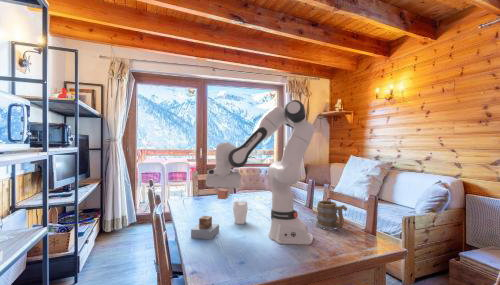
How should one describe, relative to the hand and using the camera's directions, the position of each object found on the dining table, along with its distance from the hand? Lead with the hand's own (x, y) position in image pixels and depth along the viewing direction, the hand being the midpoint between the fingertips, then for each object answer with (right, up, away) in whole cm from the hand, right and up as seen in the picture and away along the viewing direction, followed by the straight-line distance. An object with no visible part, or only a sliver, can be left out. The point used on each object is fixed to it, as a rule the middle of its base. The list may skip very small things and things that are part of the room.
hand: (222, 195), depth 133 cm
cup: (+9, -20, +13) cm, 25 cm away
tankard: (+63, -20, +4) cm, 66 cm away
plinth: (-8, -19, -8) cm, 22 cm away
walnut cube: (-8, -15, -8) cm, 19 cm away
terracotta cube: (0, -2, 0) cm, 2 cm away
